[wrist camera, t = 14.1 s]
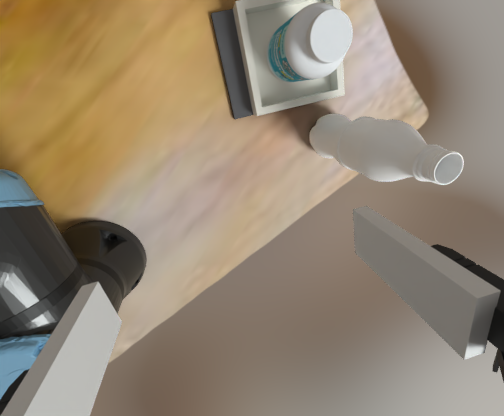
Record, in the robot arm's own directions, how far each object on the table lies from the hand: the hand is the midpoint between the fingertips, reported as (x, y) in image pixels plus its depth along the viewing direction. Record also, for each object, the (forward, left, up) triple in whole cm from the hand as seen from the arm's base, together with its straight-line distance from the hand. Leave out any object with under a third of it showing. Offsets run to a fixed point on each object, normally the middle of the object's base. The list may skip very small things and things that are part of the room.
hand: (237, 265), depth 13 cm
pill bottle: (+15, +11, -31) cm, 37 cm away
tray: (+15, +11, -32) cm, 37 cm away
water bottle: (+20, -2, -33) cm, 39 cm away
